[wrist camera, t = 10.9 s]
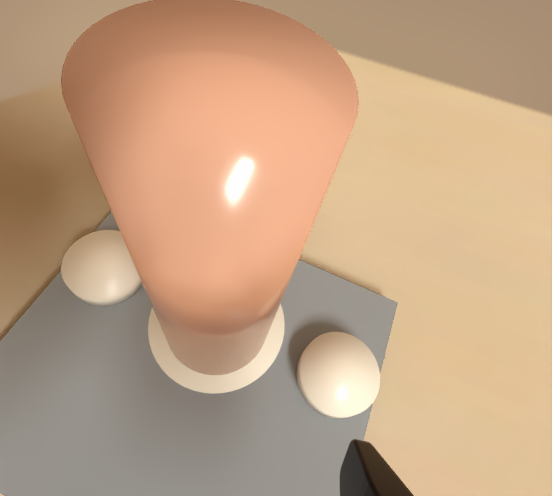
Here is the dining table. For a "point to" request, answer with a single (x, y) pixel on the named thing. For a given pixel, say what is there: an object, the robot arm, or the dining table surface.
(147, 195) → the canister
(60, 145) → the dining table surface
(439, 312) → the dining table surface
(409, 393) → the dining table surface
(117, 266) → the board
